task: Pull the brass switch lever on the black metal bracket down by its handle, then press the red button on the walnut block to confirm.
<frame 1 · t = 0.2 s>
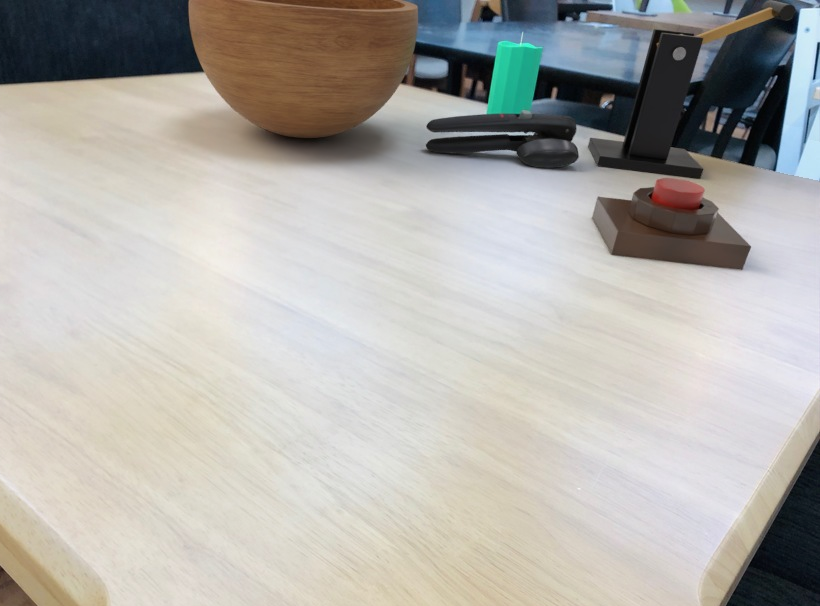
bowl: (300, 136, 85), on the table
can opener: (497, 159, 83), on the table
bracket: (641, 161, 87), on the table
lever: (721, 31, 79), point 15 cm above the table, hinge at 28.0°
button: (677, 194, 61), point 4 cm above the table, slide at 0.1 cm
button block: (662, 242, 63), on the table
candle: (505, 126, 98), on the table
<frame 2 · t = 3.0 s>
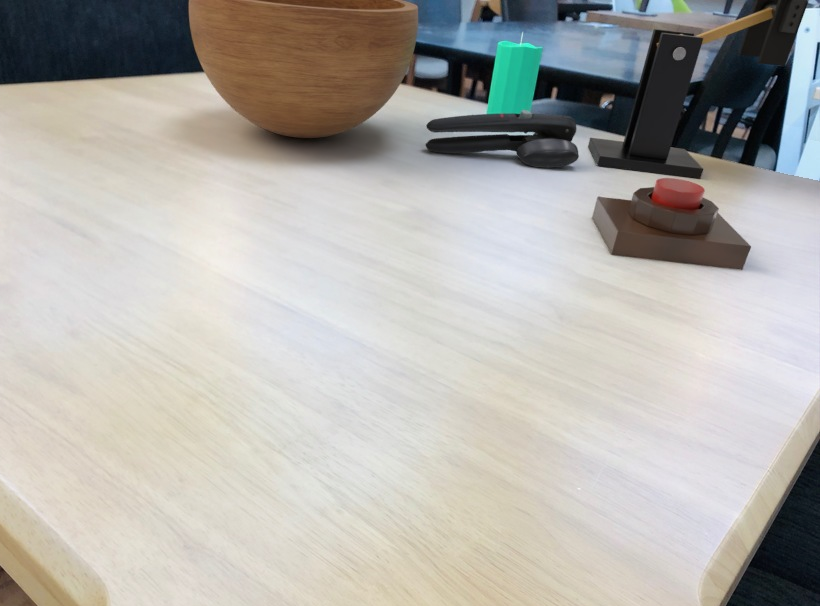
hand: (760, 59, 80), 13 cm above the table, tool pointing down, fingers closed on lever, 6 cm apart
lever: (721, 31, 79), point 15 cm above the table, hinge at 28.0°, touching gripper
everything else where it was.
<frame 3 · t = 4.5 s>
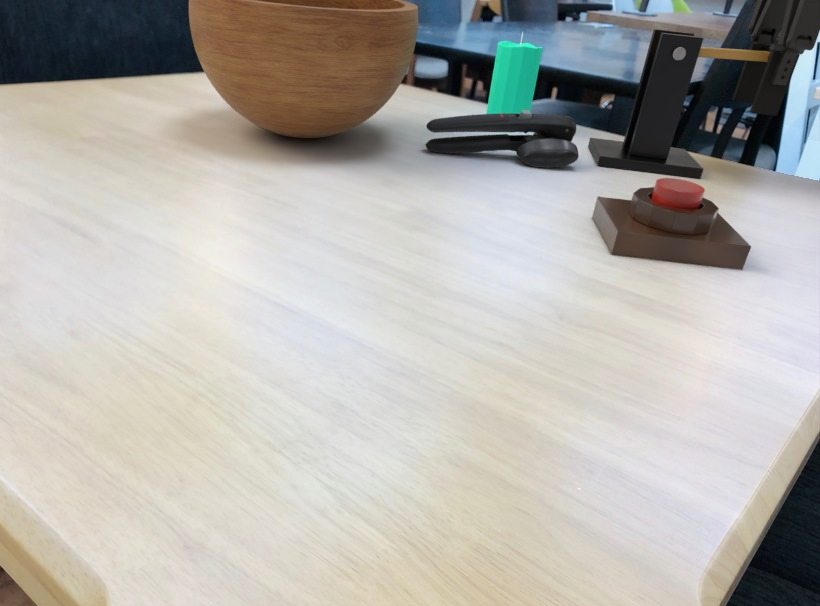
hand: (753, 107, 83), 8 cm above the table, tool pointing down, fingers closed on lever, 6 cm apart
lever: (720, 53, 80), point 13 cm above the table, hinge at 2.2°, touching gripper
everything else where it was.
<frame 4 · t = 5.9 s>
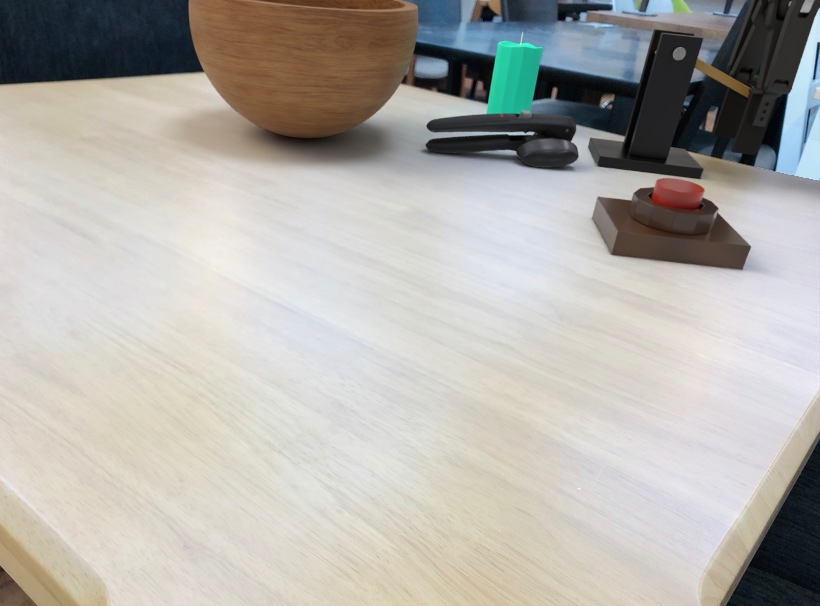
hand: (733, 144, 85), 3 cm above the table, tool pointing down, fingers open, 7 cm apart
lever: (711, 71, 81), point 11 cm above the table, hinge at -20.5°
everything else where it was.
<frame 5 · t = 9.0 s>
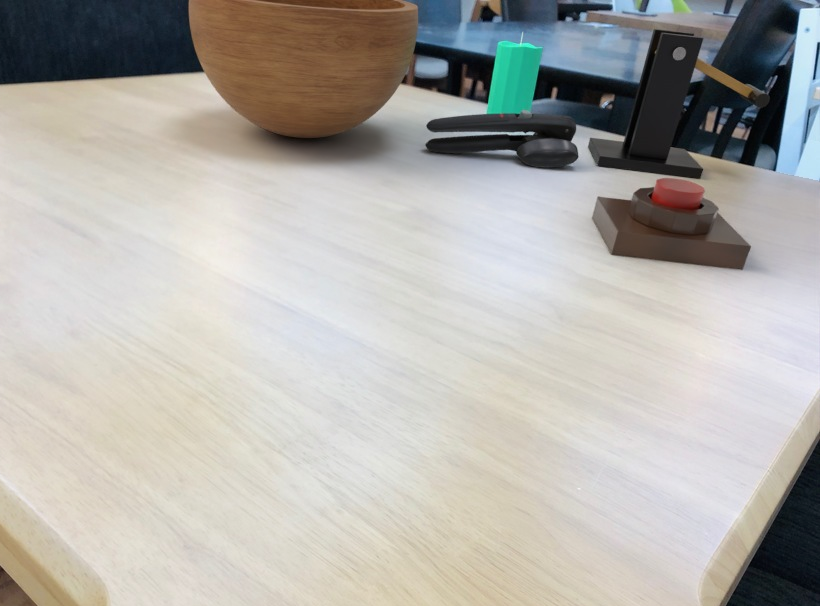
nothing on the table moved.
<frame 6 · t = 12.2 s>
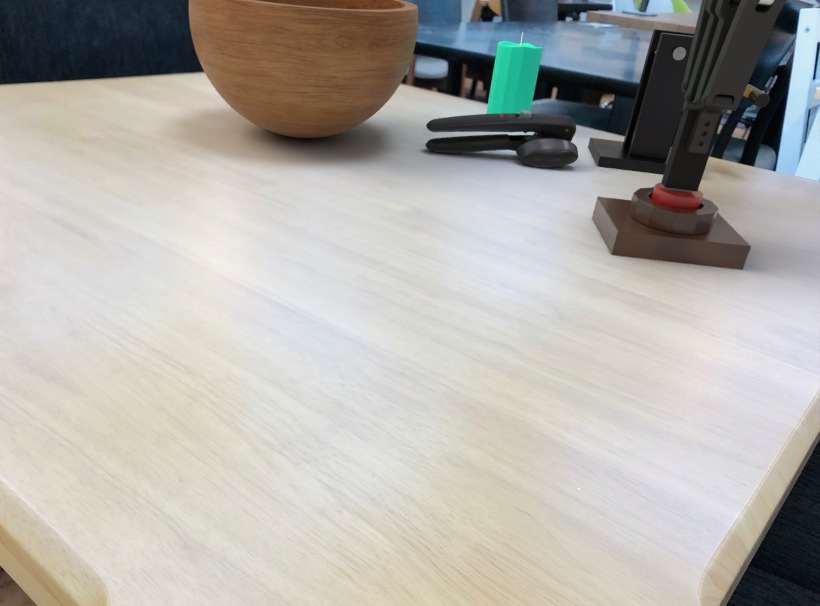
hand: (679, 186, 61), 5 cm above the table, tool pointing down, fingers closed
button: (675, 199, 61), point 4 cm above the table, slide at -0.3 cm, touching gripper
everything else where it was.
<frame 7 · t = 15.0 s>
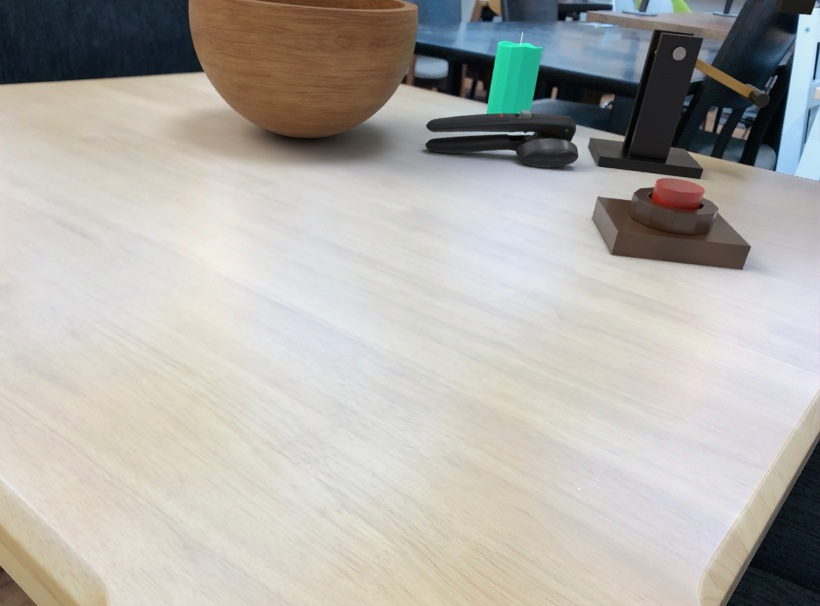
hand: (791, 12, 62), 19 cm above the table, tool pointing down, fingers closed
button: (677, 194, 61), point 4 cm above the table, slide at 0.1 cm
everything else where it was.
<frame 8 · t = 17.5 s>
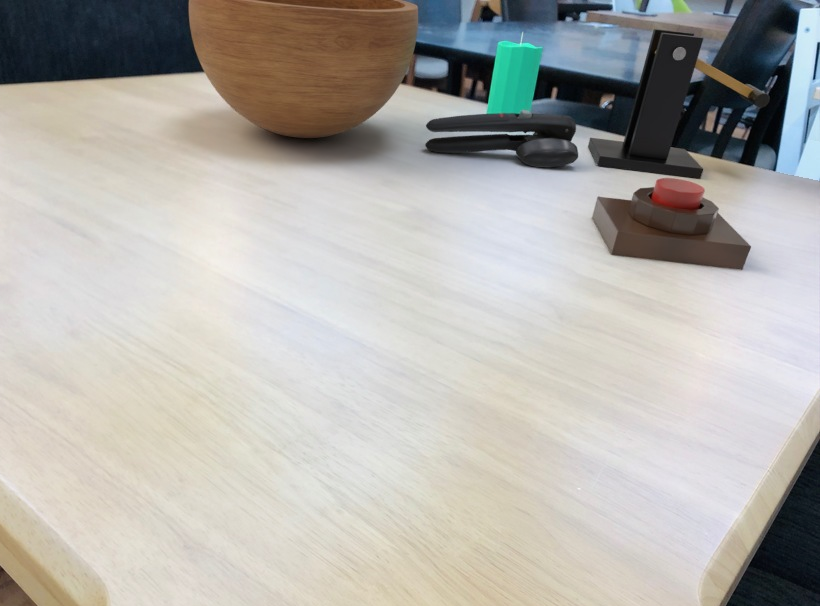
nothing on the table moved.
at the end: lever at -20° (first picture: +28°); button pushed in 1.0 cm at the most during the clip, back to where it started at the end; button slide at 0.1 cm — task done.
